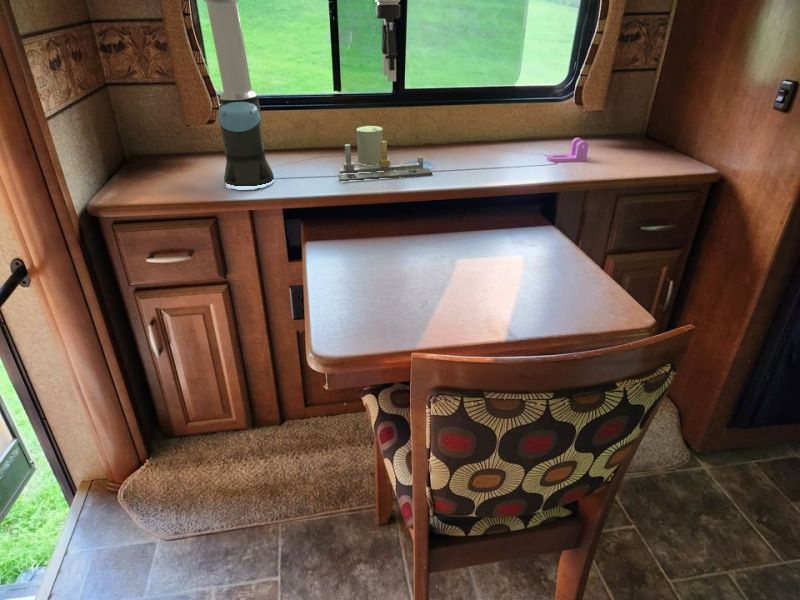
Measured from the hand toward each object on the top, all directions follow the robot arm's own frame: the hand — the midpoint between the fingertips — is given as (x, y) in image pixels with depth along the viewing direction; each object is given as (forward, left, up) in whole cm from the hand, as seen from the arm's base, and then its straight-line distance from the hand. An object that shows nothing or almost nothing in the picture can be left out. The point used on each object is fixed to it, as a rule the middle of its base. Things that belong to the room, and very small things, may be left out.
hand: (389, 78), depth 170 cm
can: (-7, +1, -28) cm, 28 cm away
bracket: (+60, -15, -28) cm, 67 cm away
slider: (-4, -11, -26) cm, 28 cm away
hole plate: (-5, -17, -27) cm, 33 cm away
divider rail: (-5, -11, -27) cm, 30 cm away
